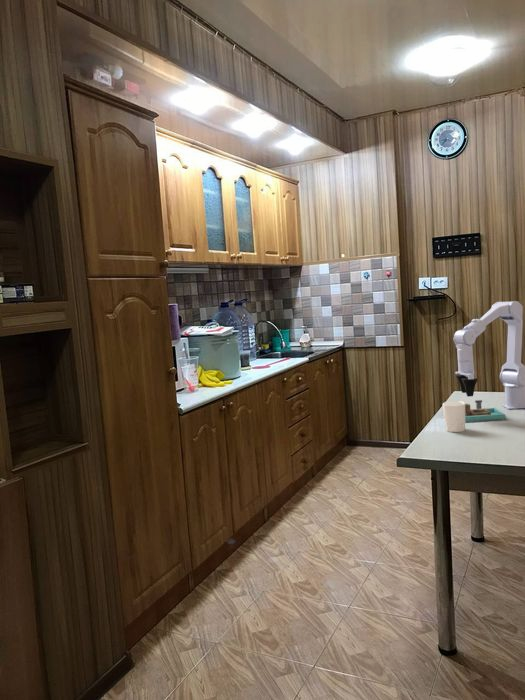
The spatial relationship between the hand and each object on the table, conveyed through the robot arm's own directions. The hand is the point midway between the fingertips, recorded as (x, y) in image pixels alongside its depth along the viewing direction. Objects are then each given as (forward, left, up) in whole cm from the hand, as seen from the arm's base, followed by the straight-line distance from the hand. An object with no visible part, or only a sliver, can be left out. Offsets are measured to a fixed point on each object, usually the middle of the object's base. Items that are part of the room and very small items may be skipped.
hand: (467, 394), depth 218 cm
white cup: (+9, +17, -10) cm, 22 cm away
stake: (-7, -11, -9) cm, 16 cm away
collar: (-2, +1, -9) cm, 9 cm away
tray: (-4, +1, -9) cm, 10 cm away
